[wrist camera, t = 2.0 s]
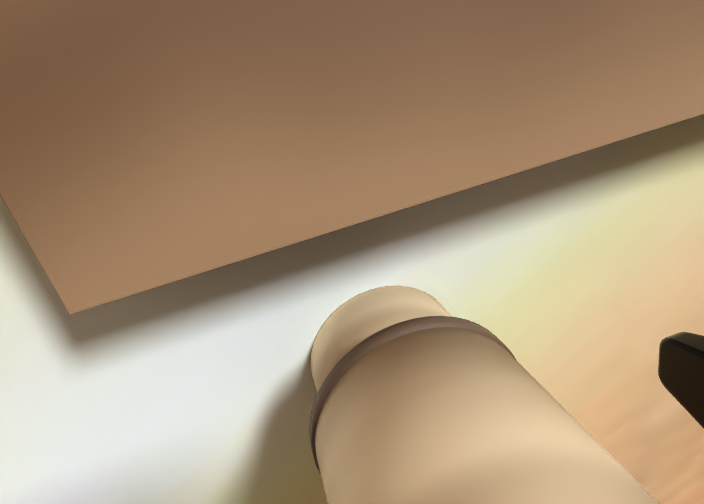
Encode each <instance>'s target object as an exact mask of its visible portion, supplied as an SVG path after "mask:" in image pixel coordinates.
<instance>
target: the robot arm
mask: <svg viewBox="0 0 704 504" xmlns="http://www.w3.org/2000/svg"><path fill="white" fill-rule="evenodd" d="M658 375H659V378H660V380H661V382H662V384H663V385H664V387H665V388H666V389H667V390H668V391H669V392H670V393H671V394H672V395H673V396H674V397H675V398H676V400H677V401H678V402H679V403H680V404H681V405H682V406H683V407H684V408H685V409H686V410H687V411H688V412H689V413H690V414H691V416H692V417H693V418H694V419H695V420H696V421H697V422H698V423H699V424H700V425H701V426H702V427H703V428H704V336H702V335H697V334H693V333H688V332H680V333H677V334H674V335H671V336H669V337H666V338H664V339H663V340H662V341H661V343H660V347H659V366H658Z"/></svg>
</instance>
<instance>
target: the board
mask: <svg viewBox="0 0 704 504" xmlns="http://www.w3.org/2000/svg"><path fill="white" fill-rule="evenodd" d="M702 114H704V0H0V195H1V197H2V198H3V200H4V202H5V204H6V205H7V207H8V209H9V210H10V212H11V214H12V216H13V217H14V219H15V221H16V223H17V224H18V226H19V228H20V230H21V231H22V233H23V235H24V236H25V238H26V240H27V242H28V243H29V245H30V247H31V249H32V250H33V252H34V254H35V256H36V257H37V259H38V261H39V262H40V264H41V266H42V268H43V269H44V271H45V273H46V275H47V276H48V278H49V280H50V282H51V283H52V285H53V287H54V288H55V290H56V292H57V294H58V295H59V297H60V299H61V301H62V302H63V304H64V306H65V308H66V309H67V311H68V313H69V314H73V313H76V312H80V311H83V310H86V309H89V308H92V307H95V306H98V305H102V304H105V303H108V302H111V301H114V300H117V299H121V298H124V297H127V296H130V295H133V294H136V293H140V292H143V291H146V290H149V289H152V288H155V287H159V286H162V285H165V284H168V283H171V282H174V281H177V280H181V279H184V278H187V277H190V276H193V275H196V274H200V273H203V272H206V271H209V270H212V269H215V268H219V267H222V266H225V265H228V264H231V263H234V262H237V261H241V260H244V259H247V258H250V257H253V256H256V255H260V254H263V253H266V252H269V251H272V250H275V249H279V248H282V247H285V246H288V245H291V244H294V243H297V242H301V241H304V240H307V239H310V238H313V237H316V236H320V235H323V234H326V233H329V232H332V231H335V230H339V229H342V228H345V227H348V226H351V225H354V224H358V223H361V222H364V221H367V220H370V219H373V218H376V217H380V216H383V215H386V214H389V213H392V212H395V211H399V210H402V209H405V208H408V207H411V206H414V205H418V204H421V203H424V202H427V201H430V200H433V199H436V198H440V197H443V196H446V195H449V194H452V193H455V192H459V191H462V190H465V189H468V188H471V187H474V186H478V185H481V184H484V183H487V182H490V181H493V180H496V179H500V178H503V177H506V176H509V175H512V174H515V173H519V172H522V171H525V170H528V169H531V168H534V167H538V166H541V165H544V164H547V163H550V162H553V161H556V160H560V159H563V158H566V157H569V156H572V155H575V154H579V153H582V152H585V151H588V150H591V149H594V148H598V147H601V146H604V145H607V144H610V143H613V142H617V141H620V140H623V139H626V138H629V137H632V136H635V135H639V134H642V133H645V132H648V131H651V130H654V129H658V128H661V127H664V126H667V125H670V124H673V123H677V122H680V121H683V120H686V119H689V118H692V117H695V116H699V115H702Z"/></svg>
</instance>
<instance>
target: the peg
mask: <svg viewBox="0 0 704 504" xmlns="http://www.w3.org/2000/svg"><path fill="white" fill-rule="evenodd" d="M310 364H311V373H312V377H313V381H314V384H315V388H316V391H317V396H316V398H315V401H314V404H313V407H312V412H311V416H310V427H309V433H310V442H311V447H312V451H313V455H314V459H315V463H316V466H317V468H318V470H319V472H320V474H321V477H322V481H323V486H324V490H325V494H326V499H327V503H328V504H659V503H658V502H657V501H656V500H655V499H654V498H653V497H652V496H651V495H650V494H649V493H648V492H647V491H646V490H645V489H644V488H643V487H642V486H641V485H640V484H639V483H638V482H637V481H636V480H635V479H634V478H633V477H632V476H631V475H630V474H629V473H628V472H627V471H626V470H625V469H624V468H623V467H622V466H621V465H620V464H619V463H618V462H617V461H616V460H615V459H614V458H613V457H612V456H611V455H610V454H609V453H608V452H607V451H606V450H605V449H604V448H603V447H602V446H601V445H600V444H599V443H598V442H597V441H596V440H595V439H594V438H593V437H592V436H591V435H590V434H589V433H588V432H587V431H586V430H585V429H584V428H583V427H582V426H581V425H580V424H579V423H578V422H577V421H576V420H575V419H574V418H573V417H572V416H571V415H570V414H569V413H568V412H567V411H566V410H565V409H564V408H563V407H562V406H561V405H560V404H559V403H558V402H557V401H556V400H555V399H554V398H553V397H552V396H551V395H550V394H549V393H548V392H547V391H546V390H545V389H544V388H543V387H542V386H541V385H540V384H539V383H538V382H537V381H536V380H535V379H534V378H533V377H532V376H531V375H530V374H529V373H528V372H527V371H526V370H525V369H524V368H523V367H522V366H521V365H520V364H519V363H518V362H517V361H516V359H515V357H514V355H513V354H512V353H511V352H510V350H509V349H508V348H507V347H506V346H505V345H504V344H503V343H502V342H501V341H500V340H499V339H498V338H497V337H496V336H495V335H494V334H492V333H491V332H490V331H489V330H487V329H486V328H484V327H482V326H480V325H479V324H476V323H474V322H471V321H469V320H465V319H461V318H457V317H452V316H451V315H450V314H449V313H448V312H447V310H446V309H445V308H444V307H443V306H442V305H441V304H440V303H439V302H438V301H437V300H436V299H435V298H433V297H432V296H430V295H429V294H427V293H425V292H423V291H421V290H418V289H415V288H411V287H405V286H385V287H379V288H375V289H371V290H368V291H366V292H363V293H361V294H358V295H356V296H355V297H353V298H351V299H349V300H348V301H346V302H345V303H344V304H342V305H341V306H340V307H339V308H337V309H336V310H335V311H334V312H333V313H332V314H331V315H330V316H329V317H328V319H327V320H326V321H325V323H324V324H323V325H322V327H321V328H320V330H319V332H318V334H317V336H316V339H315V341H314V344H313V348H312V352H311V363H310Z"/></svg>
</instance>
